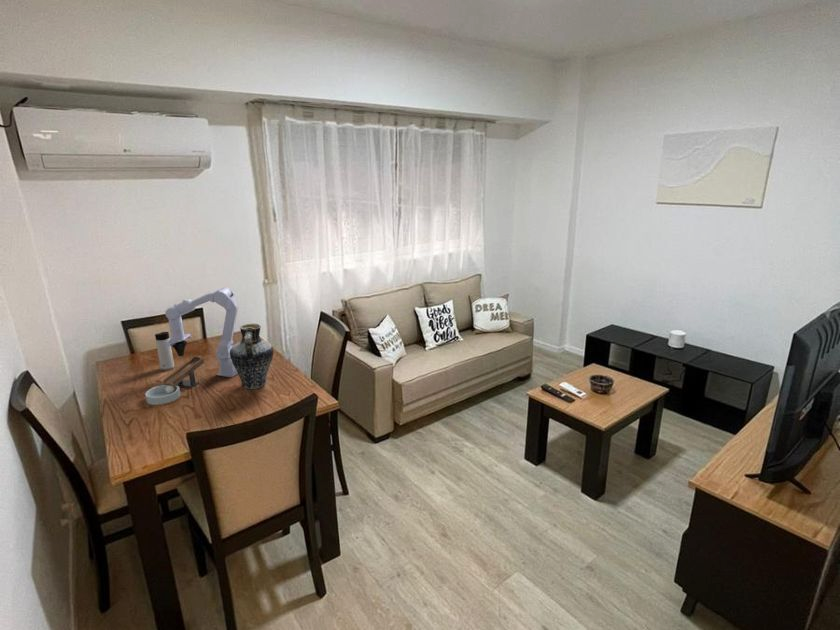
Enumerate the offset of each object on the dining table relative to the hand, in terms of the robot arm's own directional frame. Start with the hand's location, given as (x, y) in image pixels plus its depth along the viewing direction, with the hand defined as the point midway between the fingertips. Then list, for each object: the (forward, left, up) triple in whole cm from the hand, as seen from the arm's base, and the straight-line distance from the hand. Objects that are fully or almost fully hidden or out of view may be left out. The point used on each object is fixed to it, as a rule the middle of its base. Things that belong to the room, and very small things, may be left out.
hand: (181, 355), depth 225 cm
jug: (-42, 0, -11) cm, 43 cm away
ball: (-10, +19, -8) cm, 23 cm away
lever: (-7, +9, -5) cm, 12 cm away
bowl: (-10, +23, -10) cm, 27 cm away
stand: (-10, +9, -10) cm, 17 cm away
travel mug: (+14, -4, -11) cm, 18 cm away
